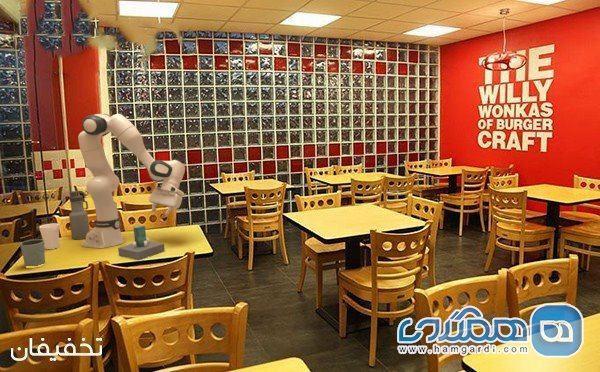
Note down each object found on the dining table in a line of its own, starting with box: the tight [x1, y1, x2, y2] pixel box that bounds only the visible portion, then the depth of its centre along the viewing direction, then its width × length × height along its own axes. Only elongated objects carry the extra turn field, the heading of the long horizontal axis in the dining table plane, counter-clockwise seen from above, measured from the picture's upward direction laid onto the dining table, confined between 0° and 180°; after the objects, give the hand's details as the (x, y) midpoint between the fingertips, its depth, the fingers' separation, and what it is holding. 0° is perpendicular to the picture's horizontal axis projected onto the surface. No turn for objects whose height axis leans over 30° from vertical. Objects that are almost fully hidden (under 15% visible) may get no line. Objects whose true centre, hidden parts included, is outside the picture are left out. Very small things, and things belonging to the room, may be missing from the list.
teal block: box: [132, 225, 147, 247], centre depth 232 cm, size 4×4×10 cm
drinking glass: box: [20, 238, 46, 267], centre depth 220 cm, size 10×10×12 cm
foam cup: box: [38, 222, 60, 250], centre depth 248 cm, size 10×9×13 cm
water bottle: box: [68, 190, 91, 241], centre depth 267 cm, size 10×10×28 cm
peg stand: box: [117, 237, 166, 261], centre depth 233 cm, size 16×16×7 cm
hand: (159, 213), depth 242 cm, fingers open, 8 cm apart
